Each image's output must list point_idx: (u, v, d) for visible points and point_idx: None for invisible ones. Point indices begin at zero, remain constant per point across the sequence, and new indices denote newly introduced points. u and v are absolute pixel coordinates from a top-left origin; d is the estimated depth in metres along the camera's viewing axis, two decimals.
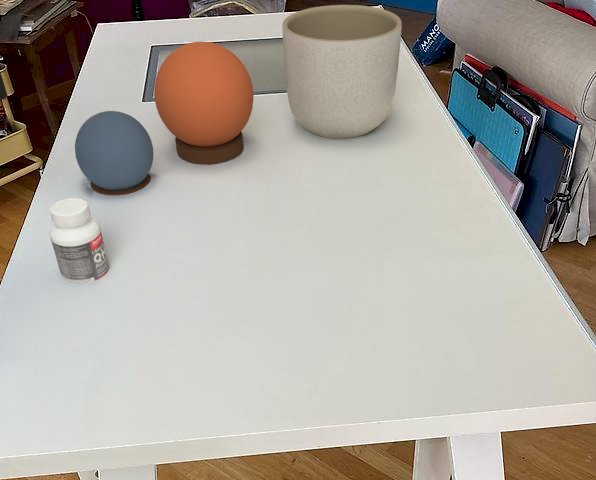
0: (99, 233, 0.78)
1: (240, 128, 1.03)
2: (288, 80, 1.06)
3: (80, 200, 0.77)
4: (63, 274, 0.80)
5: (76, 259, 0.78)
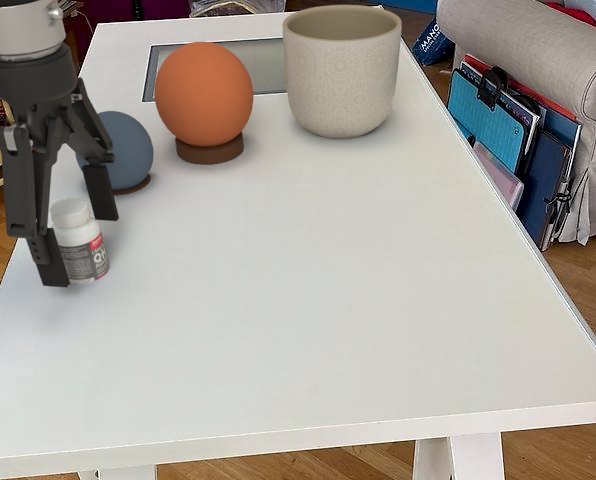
0: (99, 233, 0.78)
1: (240, 128, 1.03)
2: (288, 80, 1.06)
3: (80, 200, 0.77)
4: None
5: (76, 259, 0.78)
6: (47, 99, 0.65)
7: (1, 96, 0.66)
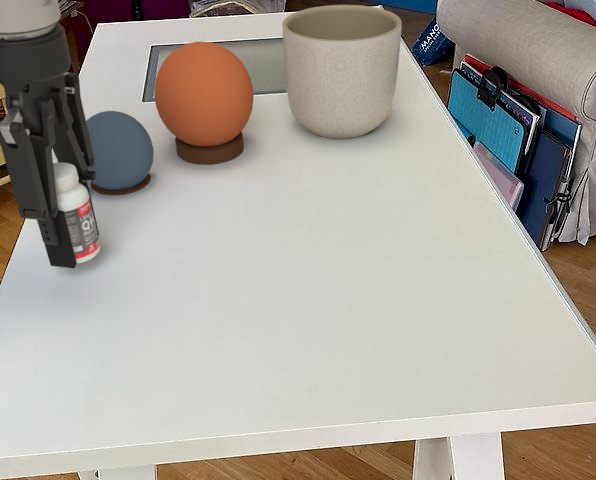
0: (88, 199, 0.76)
1: (240, 128, 1.03)
2: (288, 80, 1.06)
3: (68, 165, 0.75)
4: None
5: None
6: (40, 80, 0.64)
7: None
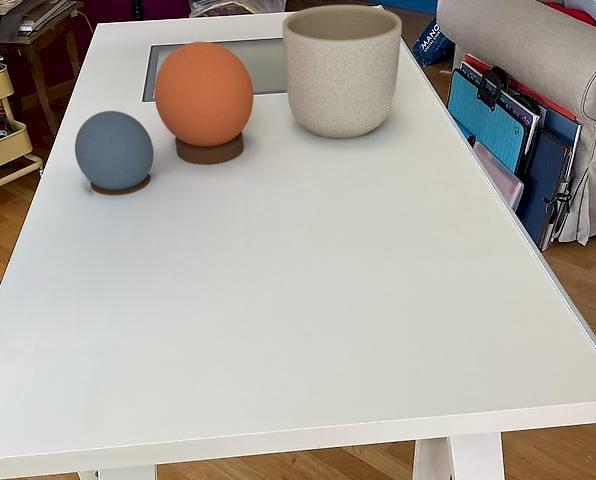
0: None
1: (240, 128, 1.03)
2: (288, 80, 1.06)
3: None
4: None
5: None
6: None
7: None
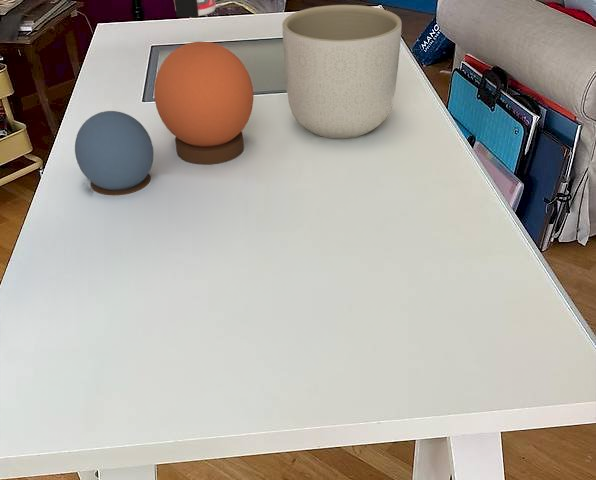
0: None
1: (240, 128, 1.03)
2: (288, 80, 1.06)
3: None
4: None
5: None
6: None
7: None
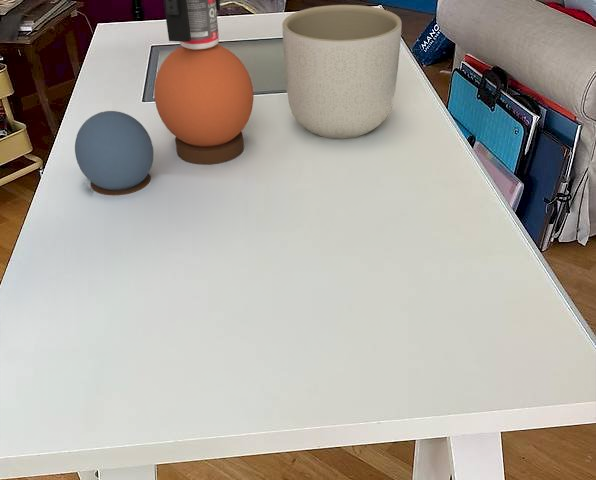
0: None
1: (240, 128, 1.03)
2: (288, 80, 1.06)
3: None
4: None
5: (196, 10, 0.93)
6: None
7: None
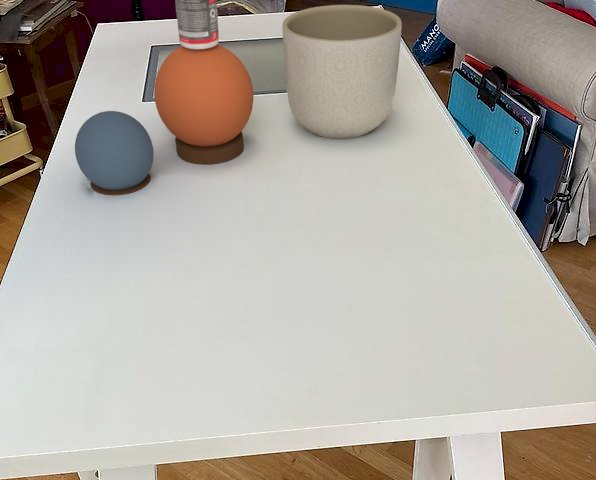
0: None
1: (240, 128, 1.03)
2: (288, 80, 1.06)
3: None
4: (182, 28, 0.95)
5: (197, 10, 0.93)
6: None
7: None
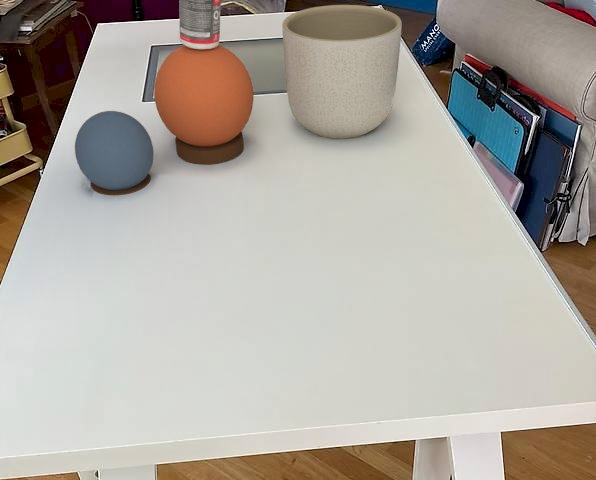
0: None
1: (240, 128, 1.03)
2: (288, 80, 1.06)
3: None
4: (184, 27, 0.95)
5: (201, 10, 0.93)
6: None
7: None
